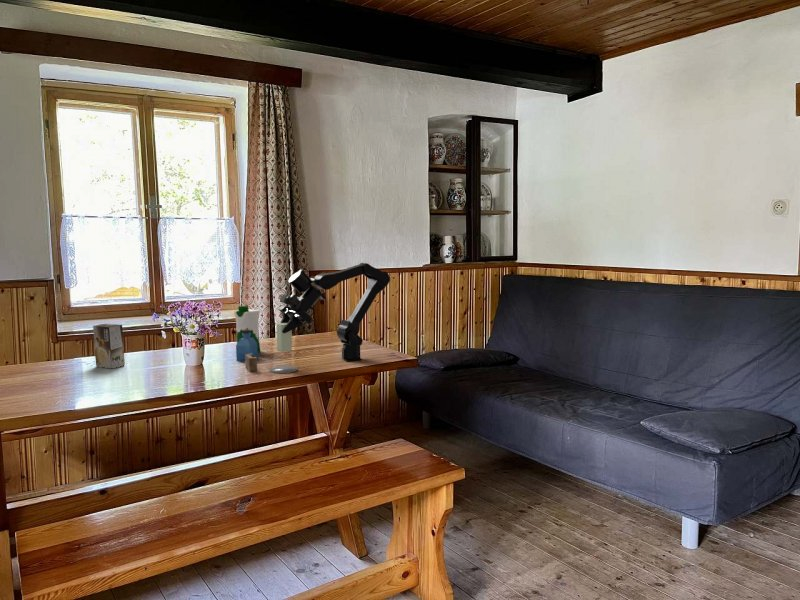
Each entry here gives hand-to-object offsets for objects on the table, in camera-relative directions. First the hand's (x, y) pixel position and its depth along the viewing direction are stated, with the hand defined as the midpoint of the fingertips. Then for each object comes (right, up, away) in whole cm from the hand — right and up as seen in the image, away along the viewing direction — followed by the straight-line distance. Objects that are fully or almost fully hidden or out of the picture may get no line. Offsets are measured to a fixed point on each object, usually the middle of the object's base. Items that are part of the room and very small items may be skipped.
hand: (280, 331), depth 226 cm
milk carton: (-20, -11, +33) cm, 40 cm away
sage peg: (+1, -7, +2) cm, 7 cm away
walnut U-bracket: (-11, -14, +2) cm, 18 cm away
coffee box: (-67, -14, +8) cm, 69 cm away
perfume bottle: (-17, -12, +19) cm, 29 cm away
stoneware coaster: (+1, -14, 0) cm, 14 cm away
